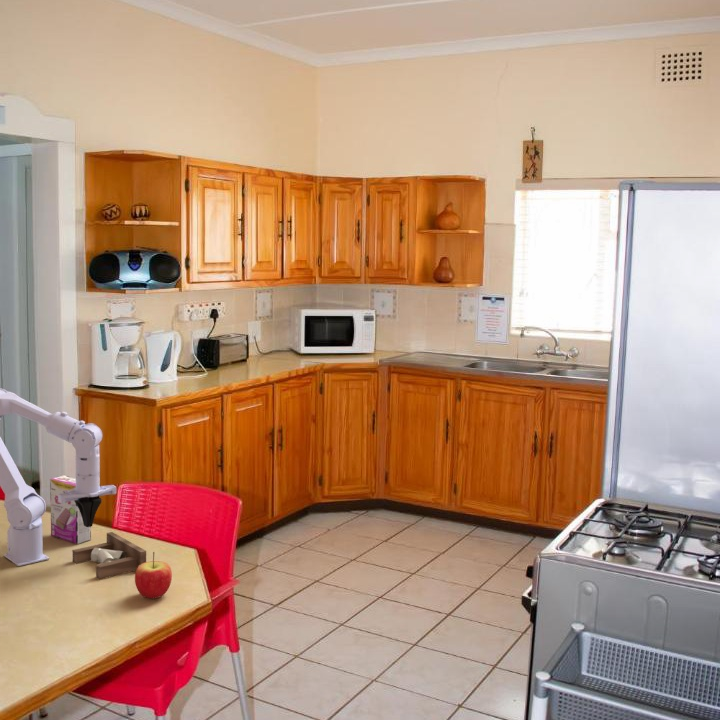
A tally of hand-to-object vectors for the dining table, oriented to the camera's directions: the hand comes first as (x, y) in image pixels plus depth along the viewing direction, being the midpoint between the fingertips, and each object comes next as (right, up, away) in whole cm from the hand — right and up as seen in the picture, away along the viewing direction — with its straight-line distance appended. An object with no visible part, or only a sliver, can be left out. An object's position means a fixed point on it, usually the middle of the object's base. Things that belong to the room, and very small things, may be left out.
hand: (88, 525), depth 214 cm
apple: (+21, -13, -18) cm, 31 cm away
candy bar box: (-10, -7, +18) cm, 22 cm away
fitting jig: (+5, -10, -1) cm, 11 cm away
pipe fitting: (+4, -10, -1) cm, 11 cm away
